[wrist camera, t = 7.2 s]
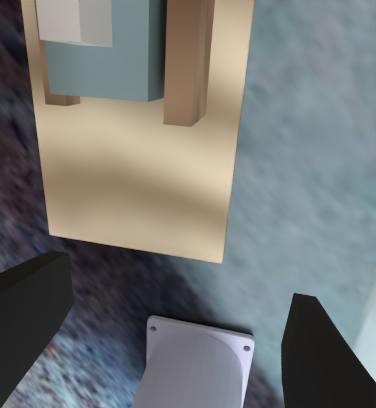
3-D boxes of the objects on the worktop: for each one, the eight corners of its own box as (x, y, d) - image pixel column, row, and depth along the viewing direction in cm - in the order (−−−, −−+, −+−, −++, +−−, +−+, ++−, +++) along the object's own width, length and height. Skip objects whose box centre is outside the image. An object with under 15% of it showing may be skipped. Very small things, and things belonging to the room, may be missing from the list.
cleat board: (223, 255, 21) (213, 305, 17) (57, 228, 23) (9, 266, 19) (274, -156, 13) (282, -273, 9) (16, -145, 15) (-86, -236, 11)
